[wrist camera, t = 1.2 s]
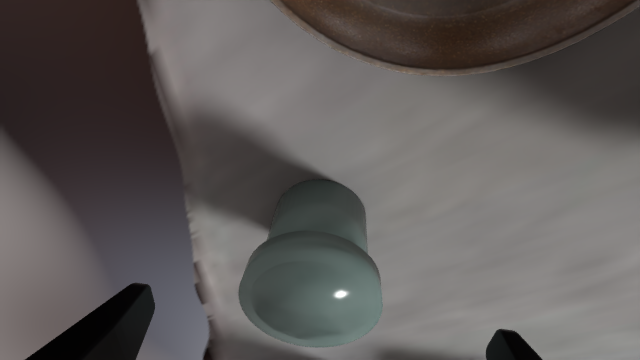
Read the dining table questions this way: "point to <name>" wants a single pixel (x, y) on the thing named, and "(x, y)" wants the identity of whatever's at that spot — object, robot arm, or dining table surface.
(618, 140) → the dining table surface
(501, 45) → the plant saucer
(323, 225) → the glazed flower pot
